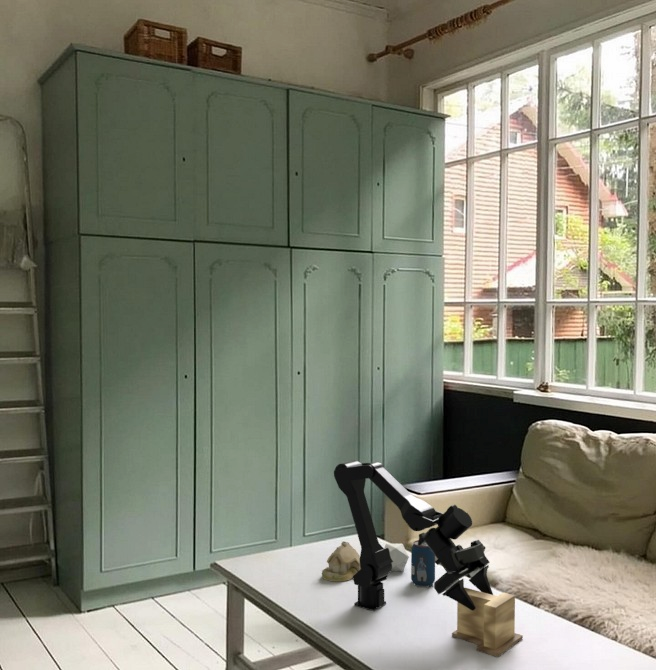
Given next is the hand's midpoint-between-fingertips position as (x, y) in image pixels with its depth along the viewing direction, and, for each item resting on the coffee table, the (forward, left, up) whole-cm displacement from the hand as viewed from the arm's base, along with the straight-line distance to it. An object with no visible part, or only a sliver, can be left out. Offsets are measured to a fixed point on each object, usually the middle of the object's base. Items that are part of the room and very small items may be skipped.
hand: (483, 603), depth 187 cm
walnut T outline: (+1, 0, -9) cm, 9 cm away
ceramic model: (-54, +16, -9) cm, 57 cm away
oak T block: (+1, 0, -8) cm, 8 cm away
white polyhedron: (-44, +29, -9) cm, 54 cm away
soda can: (-31, +24, -9) cm, 40 cm away
